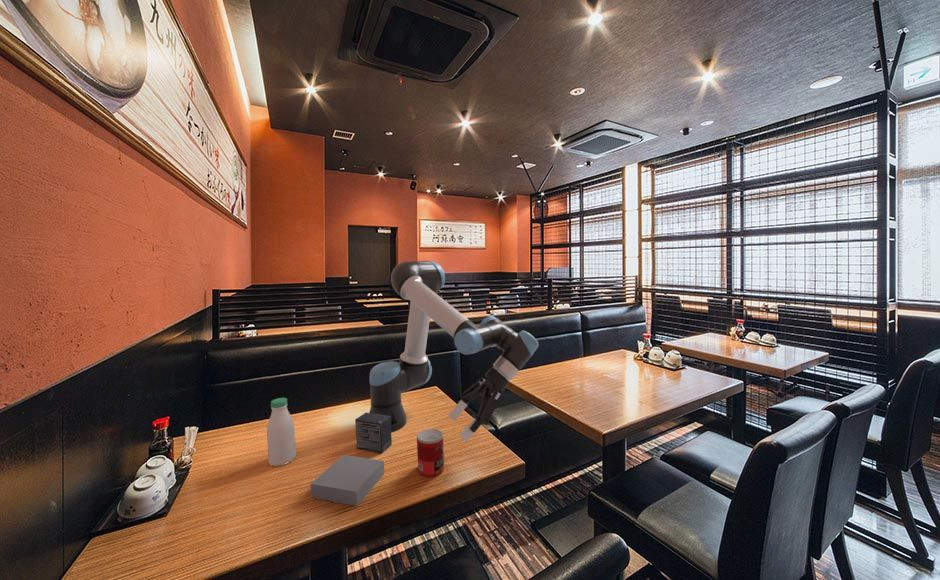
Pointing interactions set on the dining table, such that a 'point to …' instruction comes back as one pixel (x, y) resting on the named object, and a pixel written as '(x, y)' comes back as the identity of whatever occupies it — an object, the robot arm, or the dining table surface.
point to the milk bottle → (280, 434)
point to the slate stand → (348, 480)
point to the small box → (373, 432)
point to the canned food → (430, 452)
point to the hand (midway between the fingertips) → (456, 428)
